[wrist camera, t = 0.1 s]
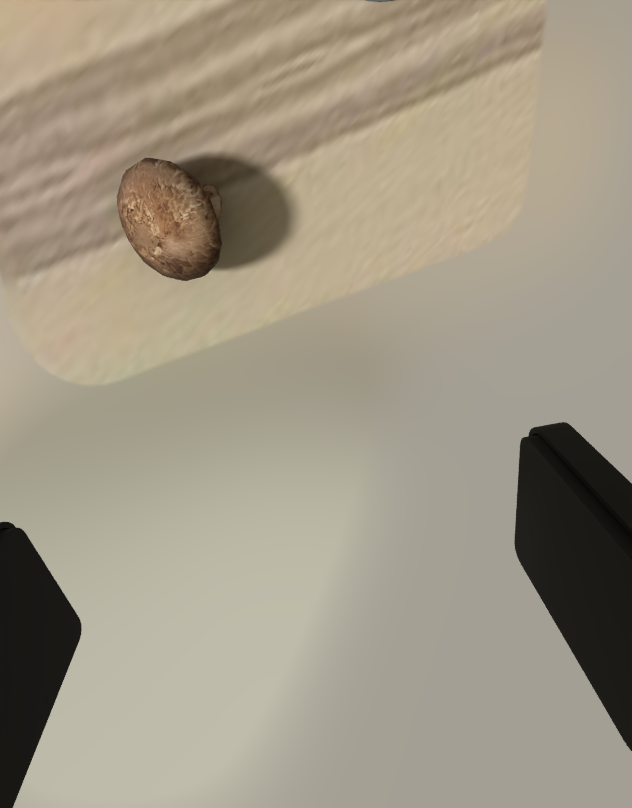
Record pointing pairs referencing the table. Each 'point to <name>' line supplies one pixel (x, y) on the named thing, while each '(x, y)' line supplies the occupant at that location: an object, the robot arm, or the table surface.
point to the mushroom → (170, 219)
